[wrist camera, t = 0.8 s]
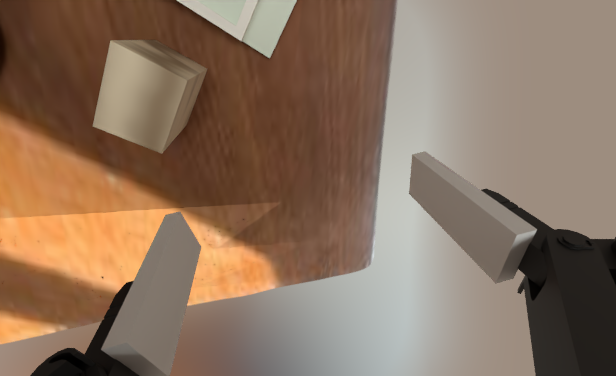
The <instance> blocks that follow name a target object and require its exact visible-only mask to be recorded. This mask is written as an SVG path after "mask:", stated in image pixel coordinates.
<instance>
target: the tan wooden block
mask: <svg viewBox="0 0 616 376" xmlns="http://www.w3.org/2000/svg"><path fill="white" fill-rule="evenodd" d="M206 72H207V68H205V67H203V66H201V65H200V64H198V63H196V62H194V61H192V60H191V59H189V58H187V57H185V56H184V55H182V54H180V53H178V52H176V51H175V50H173V49H171V48H169V47H167V46H166V45H164V44H162V43H160V42H158V41H157V40H111V41H110V46H109V51H108V55H107V60H106V65H105V70H104V74H103V79H102V84H101V89H100V94H99V98H98V103H97V108H96V113H95V117H94V122H93V127H96V128H98V129H101V130H103V131H106V132H108V133H111V134H113V135H116V136H119V137H121V138H124V139H126V140H129V141H131V142H134V143H136V144H139V145H141V146H144V147H146V148H149V149H151V150H154V151H157V152H159V153H163V152H164V151H165V150H166V148H167V147H168V146H169V145H170V144H171V143H172V141H173V140H174V139H175V138H176V137H177V136H178V134H179V133H180V132H181V131H182V130H183V129H184V127H185V126H186V125H187V123H188V120H189V117H190V115H191V112H192V109H193V107H194V104H195V101H196V99H197V96H198V93H199V91H200V88H201V85H202V83H203V80H204V77H205V75H206Z"/></svg>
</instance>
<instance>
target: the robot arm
mask: <svg viewBox="0 0 616 376" xmlns="http://www.w3.org/2000/svg"><path fill="white" fill-rule="evenodd" d="M409 194H410V195H411V196H412V197H413V198H414V199H415V200H416V201H417V202H418V203H419V204H420V205H421V206H422V207H423V208H424V210H425V211H426V212H427V213H428V214H429V215H430V216H431V217H432V218H433V219H434V220H435V221H436V222H437V223H438V224H439V225H440V226H441V227H442V228H443V229H444V230H445V231H446V232H447V233H448V234H449V235H450V236H451V237H452V239H454V241H456V243H457V244H458V245H459V246H460V247H461V248H462V249H463V250H464V251H465V252H466V253H467V254H468V255H469V256H470V257H471V258H472V259H473V260H474V261H475V262H476V263H477V264H478V265H479V266H480V267H481V269H482V270H484V272H485V273H486V274H487V275H488V276H489V277H490V278H491V279H492V280H493V281H494V282H495V283H499V282H502V281H506V280H510V279H513V278H514V276H515V274H516V272H517V270H518V269H519V270H520V271H521V272H523V273H524V274H525V277H524V279H523V281H522V282H521V284H520V286H519V288H518V293H520V294H521V292H522V291H523V289H524V290H525V298H526V305H527V313H528V320H529V328H530V335H531V343H532V351H533V358H534V366H535V373H536V376H616V237H615V239H589V238H588V237H587V236H584V235H582V234H580V233H577V232H574V231H570V230H563V229H557V230H554V229H552V228H551V227H549V226H548V225H546V224H545V223H543V222H541V221H540V220H539V219H537V218H535V217H534V216H532V215H531V214H529V213H528V212H526V211H525V210H523V209H522V208H519V207H518V206H517V205H516V204H514V203H512V202H510V201H509V200H508V199H507V198H505V197H503V196H502V195H500V194H499V193H496V192H493V191H491V190H488V189H483V190H480V189H478V188H477V187H475V186H474V185H473V184H471V183H470V182H468V181H467V180H465V179H464V178H462V177H461V176H460V175H458V174H457V173H455V172H454V171H452V170H451V169H449V168H448V167H447V166H445V165H444V164H442V163H441V162H439V161H438V160H436V159H435V158H434V157H432V156H431V155H429V154H428V153H426V152H421V153H417V154H413V155H412V166H411V178H410V191H409ZM200 250H201V246H200V244H199V242H198V241H197V239H196V237H195V236H194V234H193V232H192V231H191V229H190V227H189V226H188V224H187V222H186V221H185V219H184V217H183V216H182V214H181V212H176V213H172V214H168V215H165V217H164V219H163V222H162V224H161V226H160V228H159V230H158V232H157V234H156V236H155V238H154V240H153V242H152V244H151V246H150V249H149V251H148V253H147V255H146V257H145V259H144V261H143V263H142V265H141V267H140V269H139V271H138V273H137V276H136V278H135V280H134V281H131V282H128V283H126V284H125V285H124V286H123V287H122V288H121V289H120V291H119V292H118V293H117V294H116V295H115V297H114V299H113V301H112V303H111V305H110V309H108V311H107V313H106V315H105V316H104V320H102V322H101V324H100V326H99V328H98V330H97V332H96V334H95V336H94V338H93V340H92V341H91V343H90V345H89V347H88V349H87V351H86V353H85V355H84V354H83V353H81V352H80V351H78V350H76V349H75V348H66V349H64V350H61V351H58V352H57V353H55V354H54V355H52V356H51V357H49V358H48V359H46V360H45V361H44V362H43V363H42V364H41V365H39V366H38V367H37V368H36V370H35V371H34V372H33V373H32V374H31V376H170V373H171V368H172V364H173V360H174V356H175V352H176V348H177V343H178V340H179V336H180V331H181V327H182V323H183V319H184V315H185V311H186V307H187V303H188V299H189V295H190V291H191V287H192V282H193V278H194V274H195V270H196V266H197V262H198V258H199V254H200Z"/></svg>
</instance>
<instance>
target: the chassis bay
mask: <svg viewBox="0 0 616 376" xmlns="http://www.w3.org/2000/svg"><path fill="white" fill-rule="evenodd" d="M177 1H178V2H180V3H182V4H183V5H185V6H186V7H188V8H190V9H191V10H193V11H194V12H196V13H197V14H199V15H201V16H202V17H204V18H205V19H207V20H208V21H210V22H212V23H213V24H215V25H216V26H218V27H219V28H221V29H223V30H224V31H226V32H227V33H229V34H231V35H232V36H234V37H235V38H237V39H238V40H240V41H243V42H245V43H246V44H248V45H249V46H251V47H252V48H254V49H256V50H257V51H259V52H260V53H262V54H263V55H265V56H267V57H268V58H270V57H271V55H272V53H273V50H274V48H275V46H276V44H277V42H278V40H279V37H280V35H281V33H282V31H283V29H284V27H285V25H286V22H287V20H288V18H289V16H290V14H291V12H292V10H293V7H294V5H295V3H296V1H297V0H177Z"/></svg>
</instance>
